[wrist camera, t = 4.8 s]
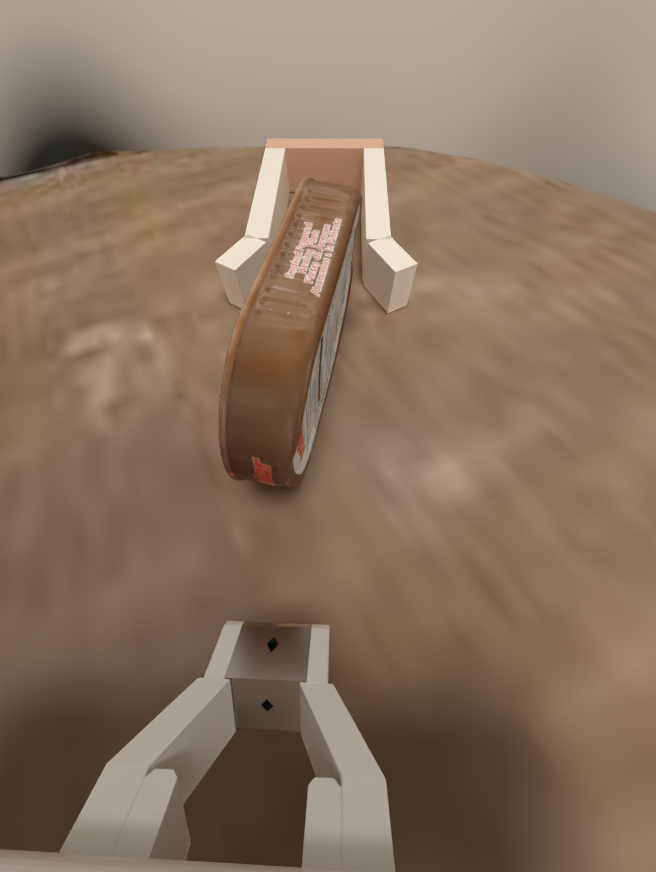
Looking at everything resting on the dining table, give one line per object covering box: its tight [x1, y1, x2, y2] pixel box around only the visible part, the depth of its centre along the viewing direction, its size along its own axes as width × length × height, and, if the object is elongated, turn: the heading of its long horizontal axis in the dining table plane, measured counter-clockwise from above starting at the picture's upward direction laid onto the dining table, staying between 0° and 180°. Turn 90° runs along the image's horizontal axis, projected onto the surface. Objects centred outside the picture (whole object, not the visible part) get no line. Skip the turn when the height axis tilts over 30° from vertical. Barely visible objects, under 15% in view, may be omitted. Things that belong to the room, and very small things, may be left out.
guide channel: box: [215, 139, 417, 313], centre depth 23 cm, size 12×16×3 cm
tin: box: [219, 176, 362, 487], centre depth 15 cm, size 15×3×8 cm, turn 168°
